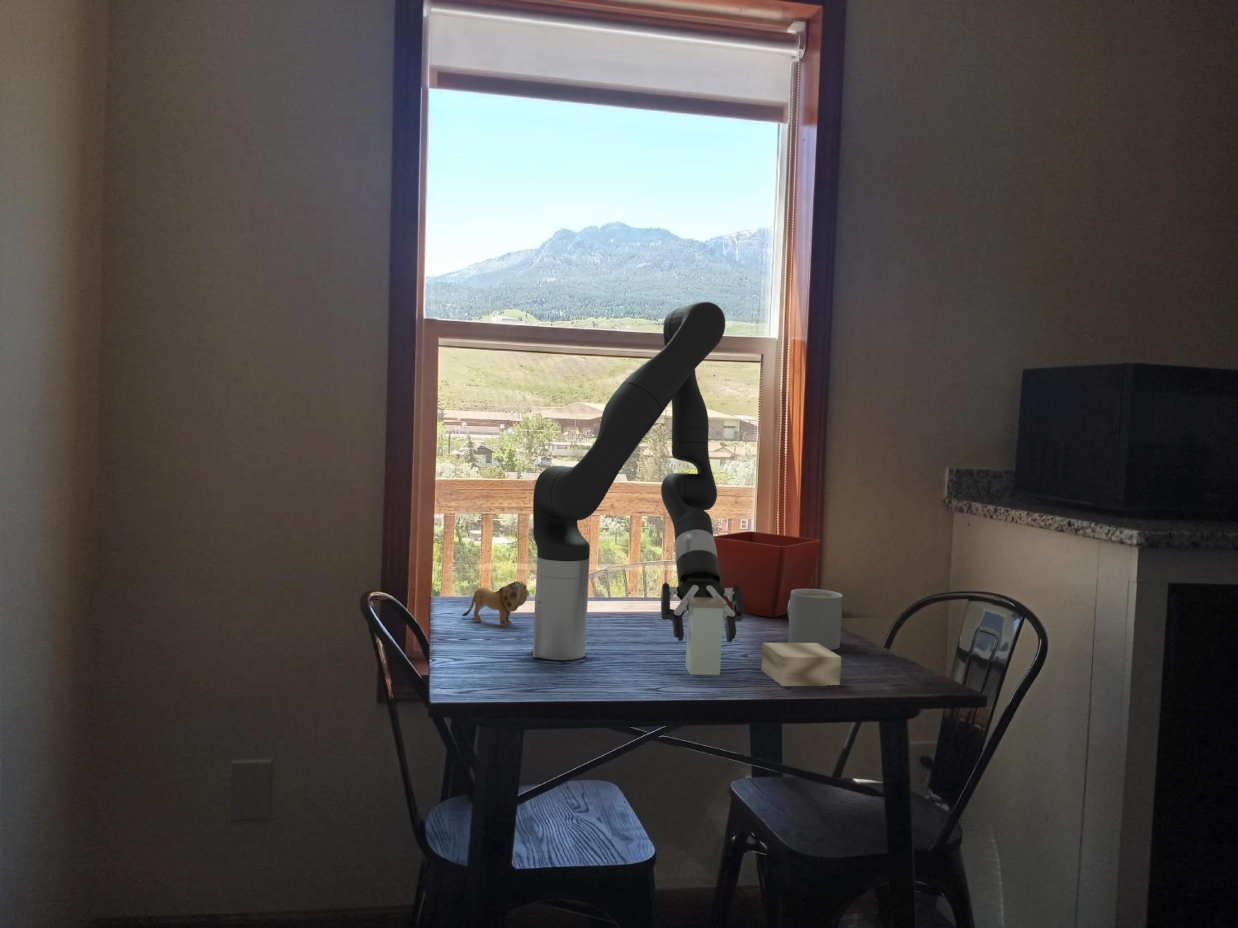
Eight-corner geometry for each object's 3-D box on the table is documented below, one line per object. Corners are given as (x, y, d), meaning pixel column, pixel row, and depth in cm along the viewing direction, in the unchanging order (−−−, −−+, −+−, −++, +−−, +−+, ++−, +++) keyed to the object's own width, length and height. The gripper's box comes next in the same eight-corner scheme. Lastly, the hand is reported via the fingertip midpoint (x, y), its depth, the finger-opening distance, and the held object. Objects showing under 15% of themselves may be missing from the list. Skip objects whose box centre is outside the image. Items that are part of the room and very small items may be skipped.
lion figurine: (531, 624, 191) (533, 580, 191) (519, 629, 186) (521, 583, 186) (468, 616, 196) (469, 573, 196) (454, 620, 191) (456, 576, 191)
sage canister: (689, 674, 157) (692, 602, 157) (684, 666, 163) (687, 596, 162) (721, 675, 158) (724, 603, 157) (715, 667, 163) (718, 597, 163)
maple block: (781, 687, 153) (783, 657, 153) (761, 671, 163) (762, 642, 162) (839, 687, 155) (841, 656, 155) (816, 671, 165) (817, 642, 164)
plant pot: (779, 623, 204) (783, 545, 203) (704, 609, 215) (708, 536, 215) (818, 611, 219) (822, 539, 218) (746, 599, 231) (749, 531, 230)
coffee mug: (848, 649, 181) (851, 597, 181) (800, 650, 179) (803, 597, 179) (819, 634, 194) (821, 585, 194) (773, 634, 192) (776, 585, 192)
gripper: (660, 547, 166) (666, 625, 155) (739, 549, 168) (752, 627, 157) (654, 572, 172) (660, 650, 161) (732, 574, 173) (743, 651, 162)
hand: (705, 639), depth 159 cm, fingers open, 8 cm apart
